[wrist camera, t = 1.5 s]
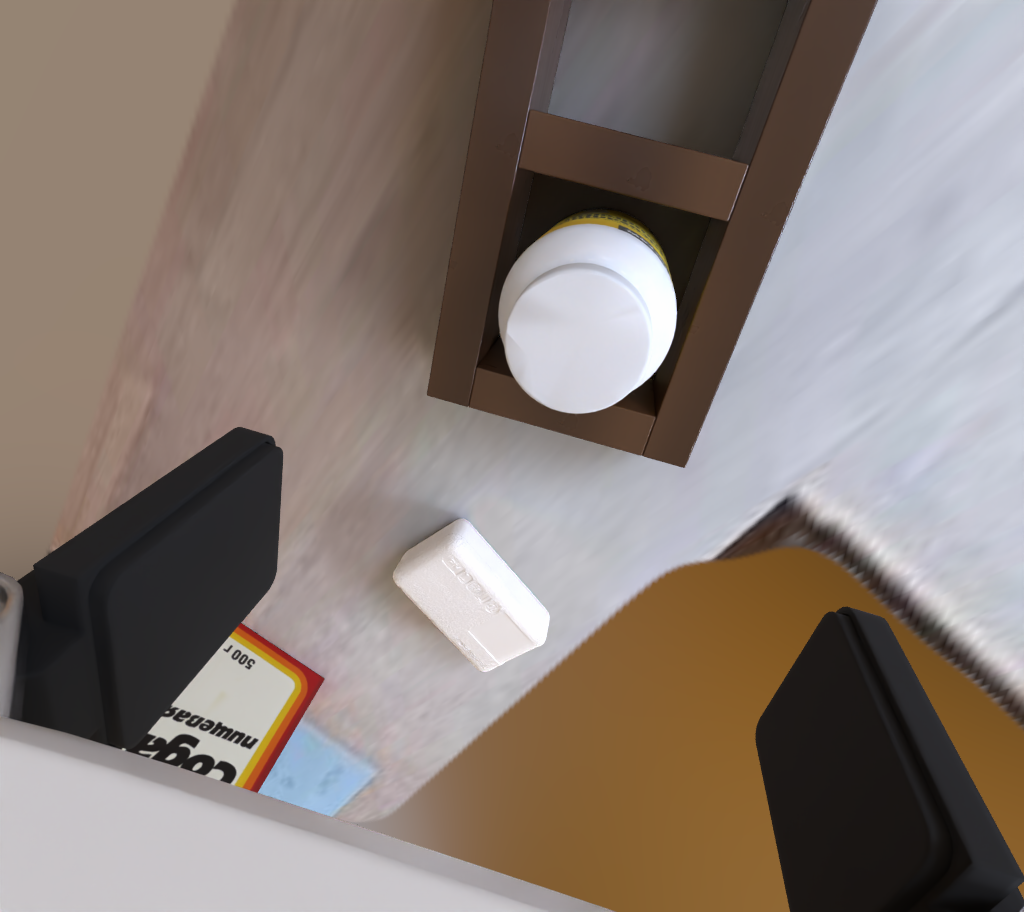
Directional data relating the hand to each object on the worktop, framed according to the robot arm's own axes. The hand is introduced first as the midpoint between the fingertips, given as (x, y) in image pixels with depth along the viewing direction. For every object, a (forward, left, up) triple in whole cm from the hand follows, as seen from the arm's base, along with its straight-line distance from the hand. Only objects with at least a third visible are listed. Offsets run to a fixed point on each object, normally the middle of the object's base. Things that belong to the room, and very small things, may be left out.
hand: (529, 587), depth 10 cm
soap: (-2, -19, -22) cm, 29 cm away
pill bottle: (0, +1, -22) cm, 22 cm away
